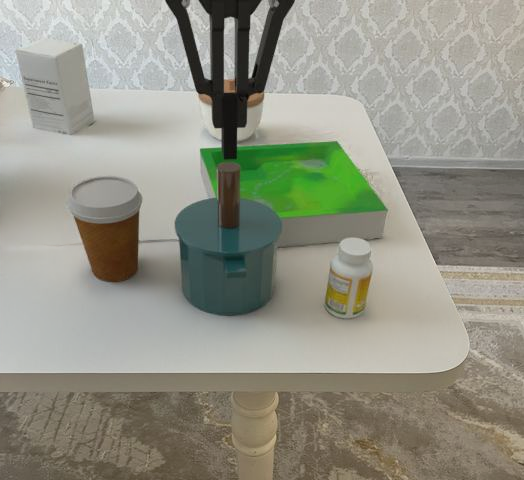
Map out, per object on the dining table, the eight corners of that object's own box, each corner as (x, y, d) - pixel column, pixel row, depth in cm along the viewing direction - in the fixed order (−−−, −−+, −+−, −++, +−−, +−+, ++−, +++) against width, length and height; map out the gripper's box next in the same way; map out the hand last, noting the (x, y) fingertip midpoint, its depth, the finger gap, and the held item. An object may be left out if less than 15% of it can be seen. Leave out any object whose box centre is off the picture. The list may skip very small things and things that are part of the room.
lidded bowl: (189, 143, 115) (187, 85, 108) (213, 120, 124) (212, 65, 117) (250, 155, 113) (252, 95, 105) (270, 130, 122) (273, 74, 114)
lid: (177, 263, 70) (172, 196, 64) (172, 206, 79) (168, 143, 74) (290, 257, 71) (296, 192, 66) (272, 202, 81) (275, 141, 75)
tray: (381, 238, 92) (387, 209, 89) (224, 251, 88) (224, 222, 84) (333, 167, 110) (337, 141, 107) (200, 175, 106) (199, 148, 102)
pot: (185, 332, 74) (182, 269, 68) (179, 252, 87) (175, 194, 81) (284, 325, 76) (290, 264, 69) (263, 248, 89) (266, 191, 82)
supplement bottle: (327, 320, 77) (337, 258, 70) (321, 295, 81) (329, 234, 74) (368, 319, 77) (381, 257, 71) (360, 294, 81) (371, 234, 75)
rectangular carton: (58, 114, 123) (43, 36, 113) (95, 122, 121) (84, 42, 111) (31, 130, 117) (13, 48, 107) (71, 138, 115) (56, 56, 105)
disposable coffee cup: (120, 297, 79) (108, 217, 71) (65, 275, 82) (48, 196, 74) (163, 263, 85) (156, 186, 77) (110, 243, 88) (99, 167, 80)
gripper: (156, -98, 49) (173, 170, 65) (309, -93, 51) (290, 167, 67) (154, -107, 54) (171, 142, 70) (293, -103, 56) (278, 139, 72)
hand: (229, 154), depth 68 cm, fingers closed
